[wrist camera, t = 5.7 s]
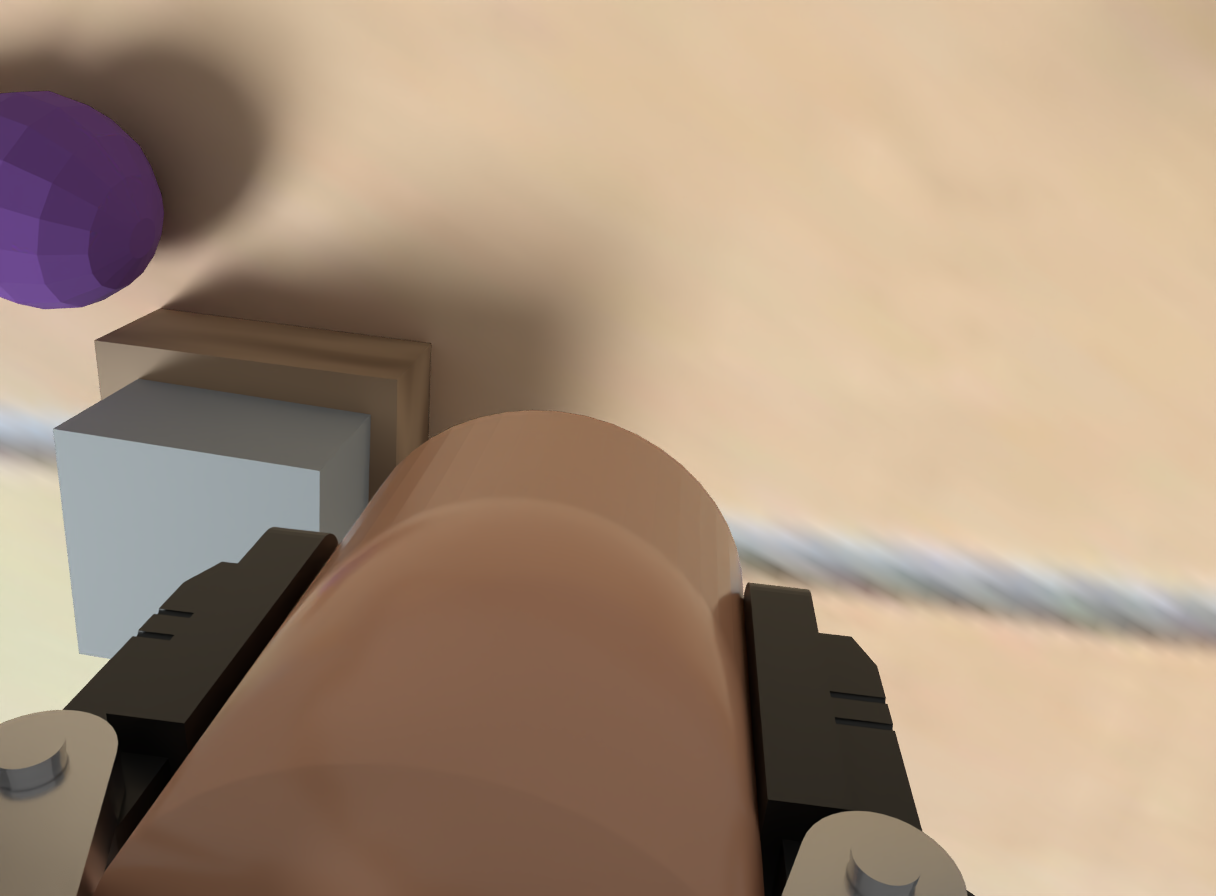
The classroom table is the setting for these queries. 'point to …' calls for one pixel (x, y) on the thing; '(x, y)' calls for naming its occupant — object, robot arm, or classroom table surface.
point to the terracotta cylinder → (488, 693)
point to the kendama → (71, 203)
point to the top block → (192, 492)
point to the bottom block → (282, 371)
